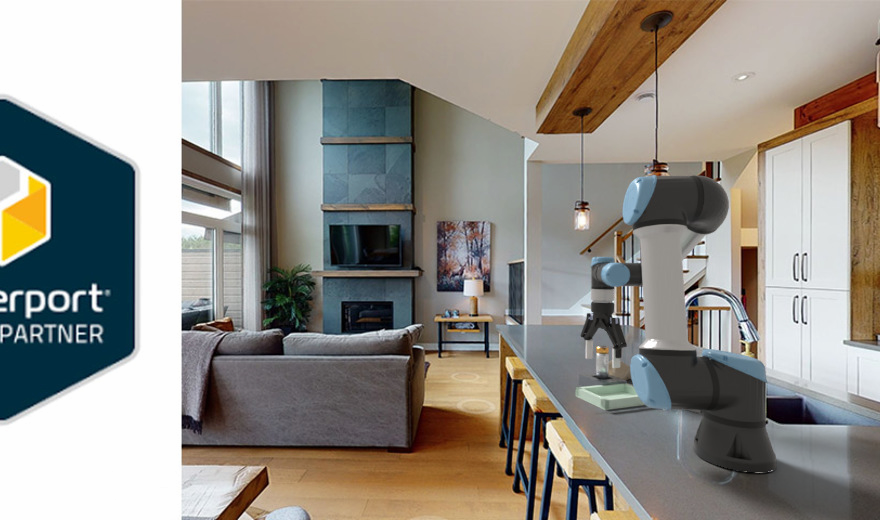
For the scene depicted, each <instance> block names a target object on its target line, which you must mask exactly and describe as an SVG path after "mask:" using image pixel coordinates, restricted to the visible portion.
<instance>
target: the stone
mask: <svg viewBox="0 0 880 520" xmlns="http://www.w3.org/2000/svg"><path fill="white" fill-rule="evenodd" d="M609 375H612V376H615V377H618V378H621V379H623V380H626V381H628V380H632V378H631V372H630V365H628V364H627V363H625V362H623V361H621V360H620V368H612V360H610V361H609Z"/></svg>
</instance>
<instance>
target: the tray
mask: <svg viewBox="0 0 880 520" xmlns="http://www.w3.org/2000/svg"><path fill="white" fill-rule="evenodd" d="M575 397H576V398H578V399H580V400H582V401H585V402H587V403H589V404H592V405H593V406H596V407H598V408H599V409H601V410H604V411H608V410H616V409H617V410H618V409H622V408H631V407H638V406H646V405H645V404H644V403H643V402H642V401H641V400H640V399H639V397H638V395H637V393H636V391H635V389H634V386H633V384H630V383H628V382H627V383H623V384H613V385H604V386H602V385H596V386H586V387H584V386H578V387H575Z"/></svg>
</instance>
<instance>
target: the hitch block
mask: <svg viewBox="0 0 880 520" xmlns="http://www.w3.org/2000/svg"><path fill="white" fill-rule="evenodd" d="M623 383H627V384H628V380H623V379H621V378H618V377H615V376H612V375H609V376H608V379H605V380H600V379H598V378H596V372H588V373H579V374H578V385H581V387H586V386H596V385H602V386H604V385H613V384H623Z"/></svg>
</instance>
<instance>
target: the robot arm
mask: <svg viewBox="0 0 880 520" xmlns="http://www.w3.org/2000/svg"><path fill="white" fill-rule="evenodd" d="M729 207H730V201H729V196H728V194H727V192H726V190H725V188H724V187H723V186H722V185H721V184H720V183H719V182H718V181H716V180H715V179H713V178H710V177H708V176H704V175H696V174H695V175H694V174H693V175H656V174H652V175H648V176H638V177H636V178H635V179H633V180H632V181H631V182H630V184H629V185H628V187H627V189H626V192H625V195H624V199H623V204H622V219H623V222H624V224H626V225H627V226H632V235H634V236H635V237H637V238H638V240H639V243H640V245H639V246H640V259H641V260H640V262H615V258H614V257H613V256H594V257H592V258H591V264H590V269H591V270H590V272H591V274H590V275H591V276H590V277H591V278H590V279H591V281H590V283H591V284H590V285H591V286H590V301H591V303H590V304H591V305H590V312H588V313H586V318H585V321H584V324H583V327H582V331H581V333H580V337H581V338H583V340H584V349H585V353H584V354H585V359H586V360H588V359H589V360H592V359H594V339H593V337H595V335H596V333H597V331H599V329H602V330H604V331H605V332H606V334H607V336H608V338H609V340H610V342H611V344H612V345H613V347H612V349H611V350H612V351H611V355H612V356H611V359H612V368H620V361H621V358H622V349H623V348H627V347H628V346H627V341H626V337H625V336H624V332H623V330H622V329H623V328H622V326H621V320H620V317H613V314H614V313H615V302H613V301H615V288H620V287H642V297H643V298H642V299H643V314H644V318H643V319H644V333H645V339H644V341H643V342H642V343H641V344H640V345H639V346H638V351H639V352H638V353H639V354H638V353H637V354H635V355H633V356H632V357H631V359H630V364H629V366H630V372H631V381H632V385H633V386H634V389H635V391H636V393H637V395H638V397H639V399H640V400H641V401H642V402H643V403H644V404H645V405H644V406H646V407H648V408H650V409H651V408H652V409H660V410H661V409H662V410H665V411H670V410H679V411H680V410H683V411H684V410H685V411H687V410H703V414H702V418H701V420H700V423H699V425H698V427H697V430H696V433H695V435H694V438H693V452H694V454H696V456H698V457H699V458H700V459H702V460H703V461H706V462H709V463H710V464H712V465H715V466H717V465H718V467H720V466H721V468H723V467H724V469H727V468H729V469H728V470H730V469H733V470H732V471H735V470H738V471H737V472H739V471H747V472H768V471H771V470H774V469H775V468H776V469H777V455H776V453H775V451H774V448H773V445H772V442H771V440H770V436H769V433H768V431H767V428H766V427H767V423H766V421H767V419H766V417H767V383H768V380H767V374H766V372H767V371H766V365H764V363H763V361H761V360H759V359H757V358H754V357H752V356H749V355H746V354H745V355H744V354H740V353H735V352H730V351H726V350H719V349H712V348H705V349H703V350H702V352H701V356H697V354H698V353H697V347H695V346H694V345H692V343H690V341H689V340H688V339H689V338H688V337H689V336H688V323H687V311H686V309H687V308H686V296H685V284H684V283H685V281H684V280H685V279H684V268H683V267H684V266H683V261H684V260H685V258H686V257H688V256H689V255H690V253H691V252H692V251H693V250H694V249H695V248H696V247H697V246H698V245H699V243H700V242H701V241H702V240H703V239H704V238H705V237H706V236H707V235H711V234H713V233H715V232H716V231H717V230H718V229H719V228H720V227H721V226H722V224H723V223H724V222H725V220H726V218H727V216H728V213H729V209H730V208H729ZM776 469H775V470H776ZM775 470H774V471H775Z"/></svg>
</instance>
